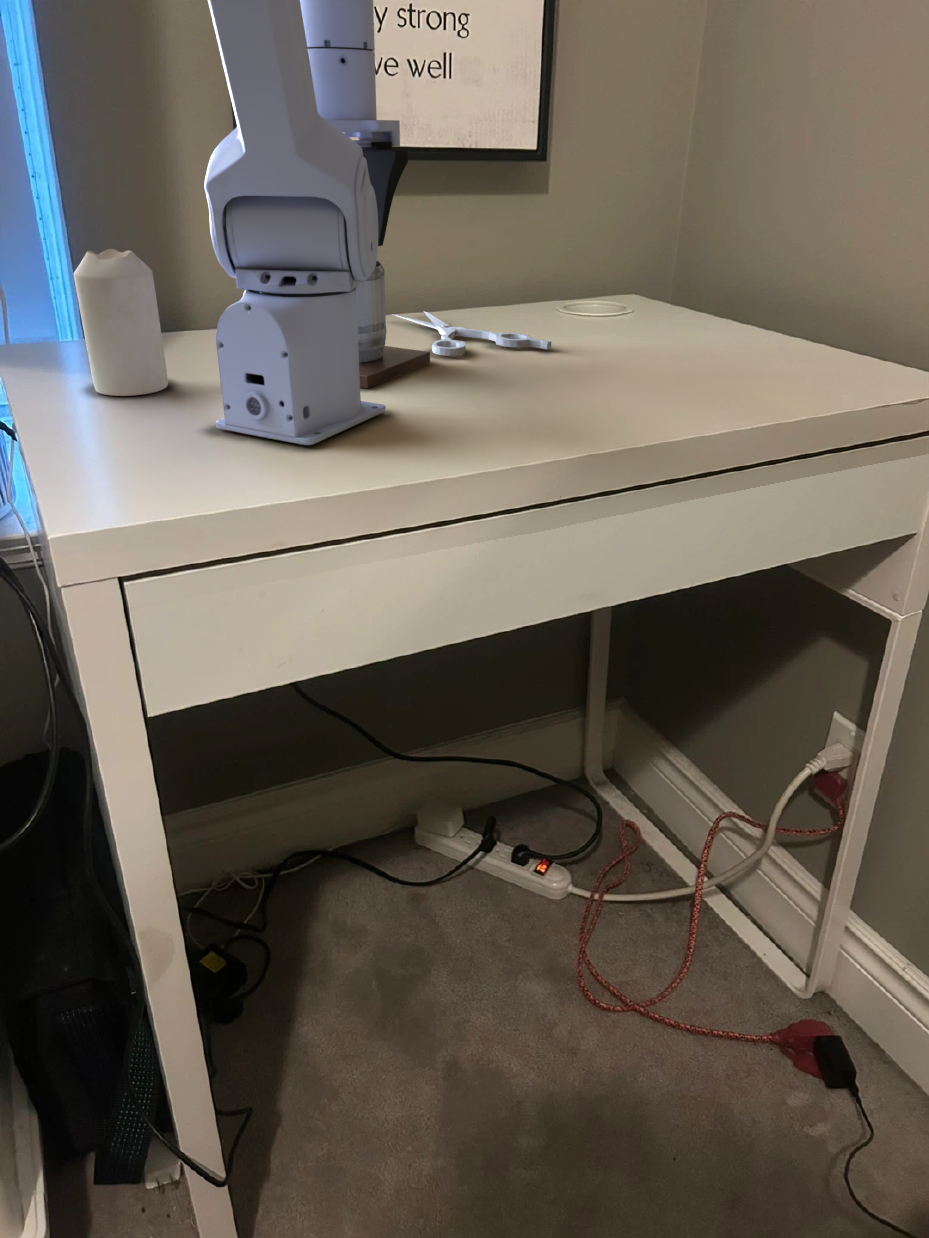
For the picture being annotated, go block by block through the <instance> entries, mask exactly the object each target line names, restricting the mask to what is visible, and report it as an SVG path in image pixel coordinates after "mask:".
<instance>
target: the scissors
mask: <svg viewBox="0 0 929 1238" xmlns="http://www.w3.org/2000/svg"><path fill="white" fill-rule="evenodd" d="M422 312H423V313H424V314H425V315H426V317H427V318H428V319H429V321H431V322H429V321H424V320H420V319H416V318H412V317H407V316H402V315H398V314H394V313H391V315H393V316H395V317H398V318H401V319H403V320H406V321H410V322H412V323H416V324H419V325H422V326H424V327H428V328H432V329H435V330H436V331H438V333H439V335H440V337H441V339H438V340H434V341H433V342H432V344H431V351H432V353H434V354H435V355H437V356H444V357H456V356H457V357H458V356H461V355H462V356H463V355H465V354H466V342H465V341H462V340H456V339H454V338H456V337H464V338H476V339H484V340H489V341H492V342H495V345H496V346H501V347H508V348H526V347H530V348H537V349H538V348H539V349H543V350H551V349H552V340H548V339H547V340H545V339H538V338H533V337H532V336H530V335H528V334H525V333H521V332H520V333H518V332H497V331H496V332H495V331H489V330H486V329H485V330H481V329H470V328H467V327H463V326H450V325H449V324H448V323H446V322H444V321H443V320H441V319H439V318H438V317H436V316H435V315H433V314H431V313H429V312H427V311H425V310H423V311H422Z"/></svg>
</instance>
